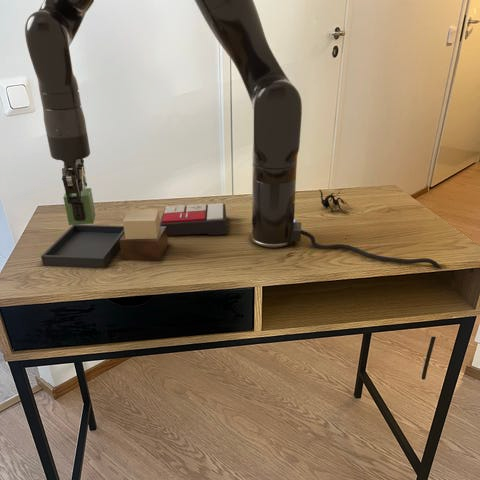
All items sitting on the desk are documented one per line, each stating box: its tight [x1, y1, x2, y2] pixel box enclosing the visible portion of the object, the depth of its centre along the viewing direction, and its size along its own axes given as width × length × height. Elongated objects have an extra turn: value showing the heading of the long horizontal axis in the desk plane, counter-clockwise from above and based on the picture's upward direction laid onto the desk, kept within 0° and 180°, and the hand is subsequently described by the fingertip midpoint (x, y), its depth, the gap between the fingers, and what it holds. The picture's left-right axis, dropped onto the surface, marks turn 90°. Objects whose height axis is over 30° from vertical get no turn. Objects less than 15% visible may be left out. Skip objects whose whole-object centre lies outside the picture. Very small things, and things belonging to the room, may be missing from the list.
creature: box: [318, 189, 349, 213], centre depth 128 cm, size 8×5×8 cm
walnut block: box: [119, 226, 169, 262], centre depth 107 cm, size 8×8×4 cm
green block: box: [63, 187, 96, 226], centre depth 105 cm, size 5×5×6 cm
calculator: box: [160, 202, 227, 237], centre depth 119 cm, size 11×4×15 cm
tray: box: [40, 224, 125, 269], centre depth 109 cm, size 13×17×2 cm
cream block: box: [122, 208, 161, 239], centre depth 105 cm, size 6×6×4 cm
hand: (81, 215), depth 106 cm, fingers closed on green block, 5 cm apart
